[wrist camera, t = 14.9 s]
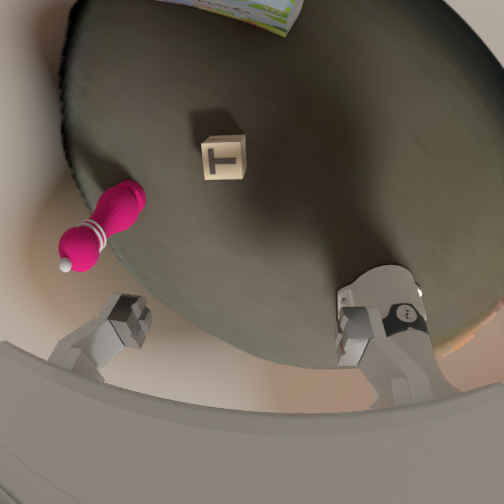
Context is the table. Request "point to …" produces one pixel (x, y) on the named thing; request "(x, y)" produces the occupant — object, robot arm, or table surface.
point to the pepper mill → (101, 226)
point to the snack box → (253, 11)
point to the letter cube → (224, 157)
